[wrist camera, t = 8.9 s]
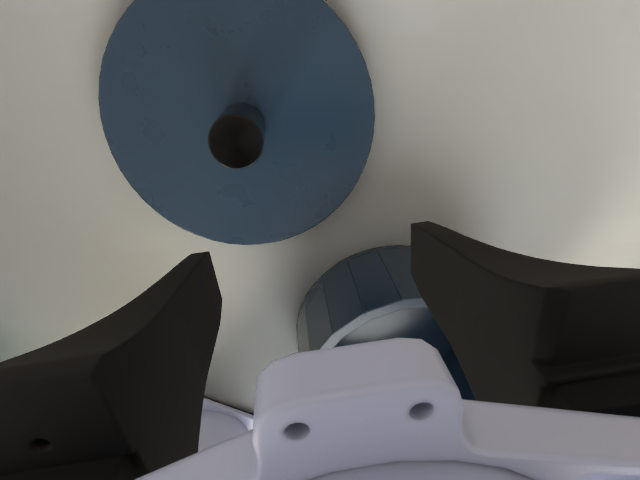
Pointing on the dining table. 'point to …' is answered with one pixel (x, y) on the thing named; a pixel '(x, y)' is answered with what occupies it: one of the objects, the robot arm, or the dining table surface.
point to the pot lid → (237, 113)
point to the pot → (372, 308)
